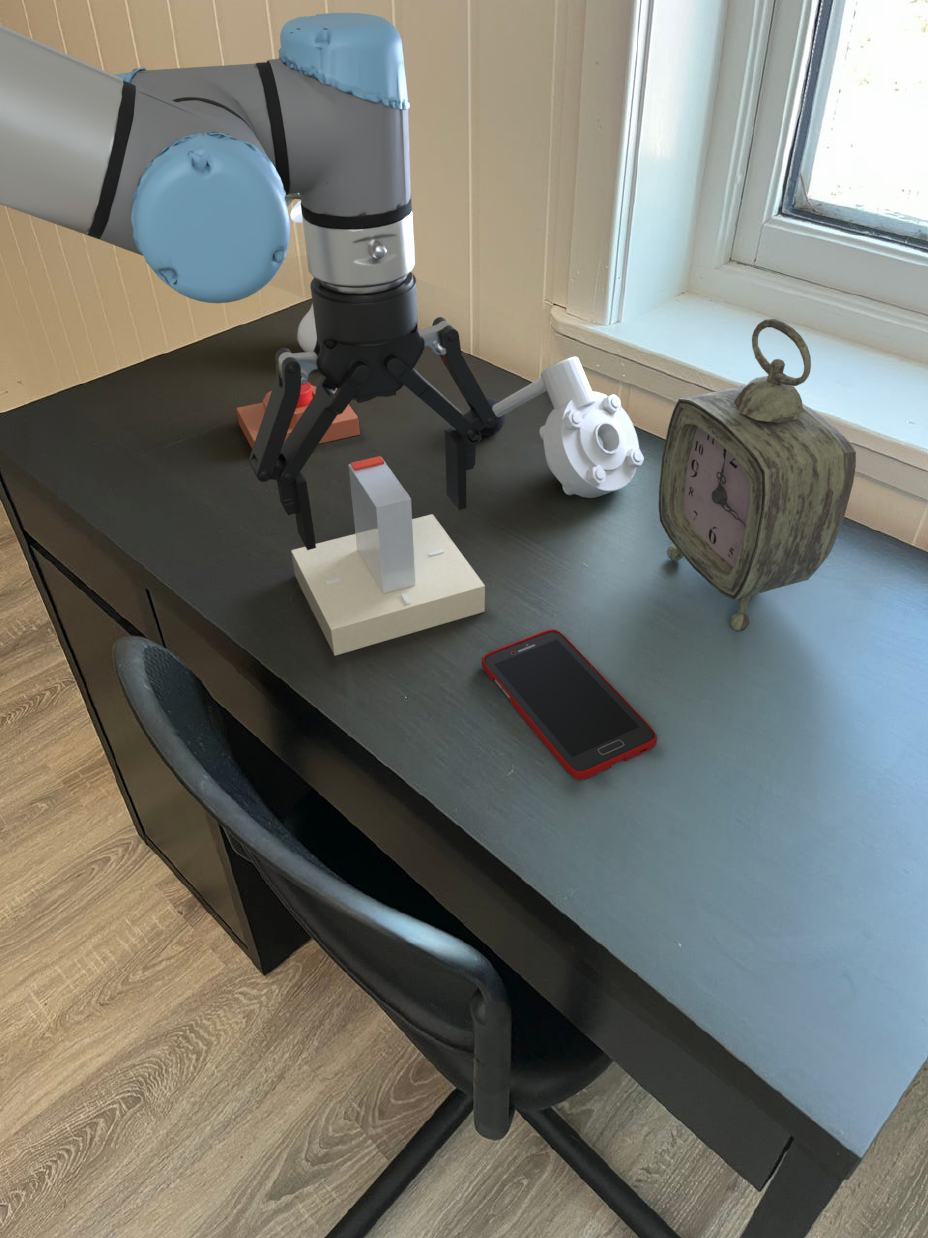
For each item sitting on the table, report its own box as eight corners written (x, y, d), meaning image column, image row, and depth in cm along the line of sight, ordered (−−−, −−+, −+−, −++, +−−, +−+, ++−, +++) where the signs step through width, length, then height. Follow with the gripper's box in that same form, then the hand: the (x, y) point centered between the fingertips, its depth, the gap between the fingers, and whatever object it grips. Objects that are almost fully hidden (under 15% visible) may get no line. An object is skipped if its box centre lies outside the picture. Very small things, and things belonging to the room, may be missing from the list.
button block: (256, 457, 104) (251, 425, 101) (239, 424, 109) (233, 393, 107) (359, 434, 108) (357, 403, 105) (338, 403, 113) (334, 372, 110)
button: (282, 412, 104) (280, 398, 103) (273, 397, 107) (270, 382, 106) (317, 405, 105) (315, 391, 104) (307, 390, 108) (305, 376, 107)
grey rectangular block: (415, 585, 82) (411, 495, 76) (383, 594, 81) (375, 504, 75) (387, 541, 87) (381, 454, 81) (356, 549, 86) (347, 462, 80)
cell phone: (576, 786, 69) (577, 777, 68) (477, 664, 79) (477, 656, 78) (661, 746, 72) (662, 738, 71) (555, 634, 81) (555, 625, 81)
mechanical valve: (594, 501, 92) (533, 356, 90) (489, 541, 106) (435, 417, 105) (660, 469, 97) (603, 333, 96) (551, 511, 112) (501, 393, 111)
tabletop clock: (647, 553, 90) (686, 297, 74) (729, 532, 93) (783, 280, 76) (732, 648, 80) (798, 376, 64) (821, 623, 83) (907, 354, 66)
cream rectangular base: (334, 656, 80) (330, 628, 78) (294, 575, 88) (290, 548, 86) (485, 611, 84) (485, 584, 82) (433, 539, 92) (432, 512, 90)
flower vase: (424, 349, 124) (417, 143, 108) (313, 397, 114) (286, 178, 98) (360, 320, 131) (344, 122, 115) (250, 363, 121) (215, 153, 105)
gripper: (197, 326, 61) (251, 584, 74) (544, 262, 68) (533, 507, 82) (175, 285, 66) (229, 533, 80) (499, 230, 73) (496, 465, 87)
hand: (383, 520), depth 81 cm, fingers open, 13 cm apart
